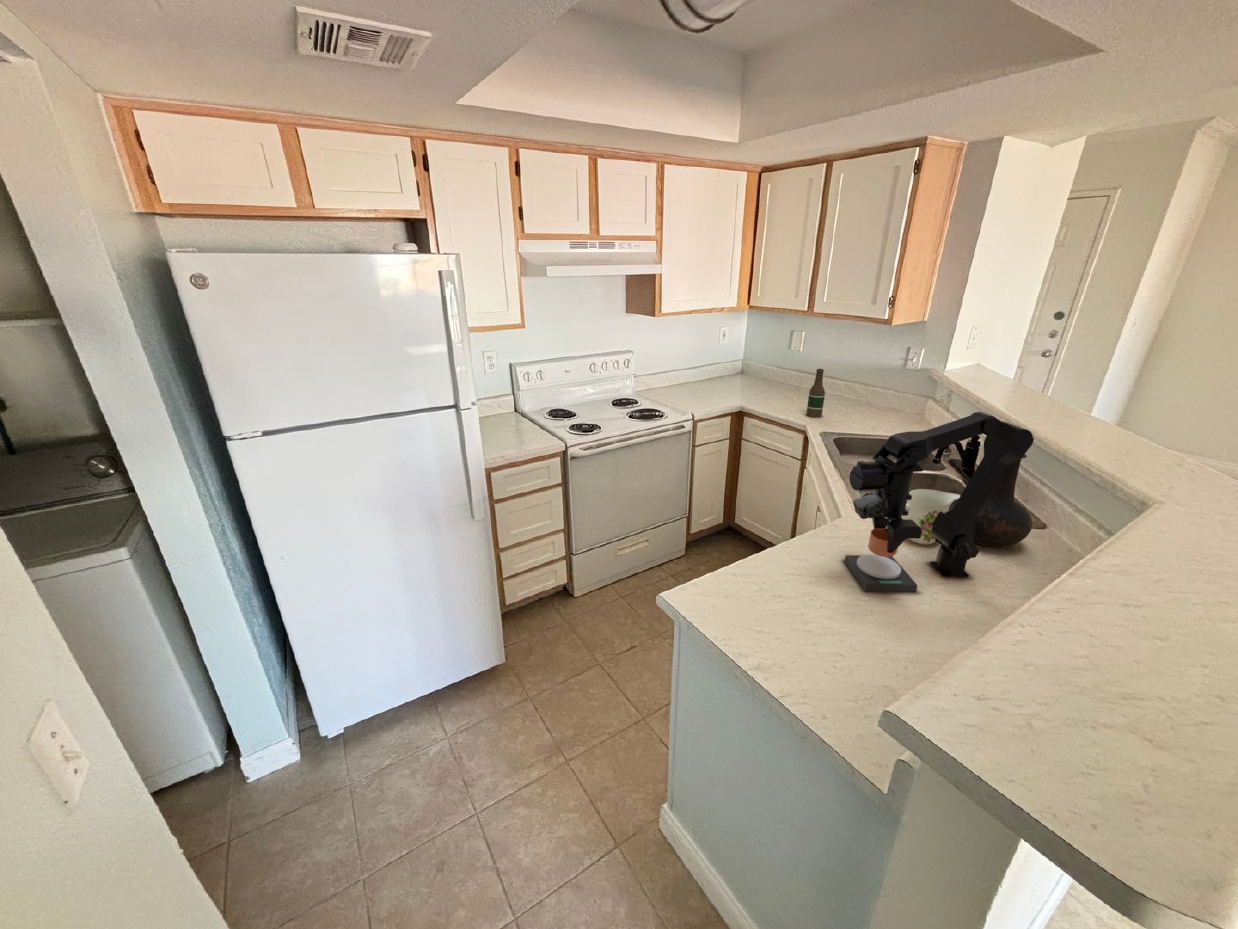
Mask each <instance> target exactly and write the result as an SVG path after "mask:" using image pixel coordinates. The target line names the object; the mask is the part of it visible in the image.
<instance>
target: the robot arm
mask: <svg viewBox="0 0 1238 929" xmlns="http://www.w3.org/2000/svg"><path fill="white" fill-rule="evenodd" d="M981 435H985V438H984V440H983V457H982V459H981V460H980V462H979V464H978V465H977V467H976V469H975V471H974V472H973V474H972V476H971V477H970V478H969V480H968V482H967V484H966V486H965V487H964V489H963V491H962V492H961V494H960V495H961V496H960V497H959V499H957V500H956V503H955V504H954V506H953V507H952V508H951V509H949V511H947V512H945V513H943V512H942V511H940V512H939V513H938V515H937V517H936V519H935V521H934V522H933V523H932V525H933V526H932V529H931V531H932V534H933V536H934V538H935V542H936V543H938V544H939V548H938V552H937V556H936V558H935V560H930V561H929V564H930V565H931V566H932V568H934V569H935V570H936V571H937V572H938V574H939V575H940V576H941V577H944V578H969V577H970V574H969V573H968V572H967V571H966V570H965V569H966V566H967V563H968V561H969V560H971V559H975V558H976V557H977V556H978V555H979V553H980V551H981V550H980V549H979V547H977V545H975V542H974V541H972V538H973V536H974V534H975V518H976V516H977V514H978V513H979V511H980V509H981V508H982V506H983V505H984V503H985V501H986V500H987V498H988V497H989V495H990V493H991V492H992V490H993V488H994V487H995V485H996V484H997V482H998V480H999V479H1000V477H1001V475H1002V474H1003V472H1004V471H1005V469H1006V467H1007V466H1008V465H1009V464H1011V463H1013V462H1015V461H1017V460H1019V459H1020V458H1022V457H1023V455H1024V454H1026V453H1027V452H1028V451H1029V449H1030V448H1031V447H1032V445H1033V443H1034V441H1035V438H1034V435H1033V433H1032V431H1031V430H1029V429H1027V428H1025V427H1022V426H1019V425H1016V424H1013V423H1011V422H1007V421H1001V419H998V418H997V417H996V416H994V415H991V414H988V413H986V412H983V411H975V412H973V413H971V414H970V415H968V416H965V417H961V418H958V419H955V420H953V421H949V422H947V423H944V424H941V425H938V426H935V427H932V428H929V429H926V430H921V431H916V430H915V431H914V430H913V431H904V432H897V433H894V434H892V435H890V436H888V439H887V441H886V442H885V443H884V444H883V446H881V447H880V448H879V450H878V451H876V453H875V454H874V455H873V456H872V460H871V461H865V460H860V461H859V460H857V462H856V465H855V466H854V465H853V467H852V468H851V470H850V471H849V475H848V476H849V478H848V479H849V484H850V486H851V488H852V489H853V490H854V491H875V492H866V493H864V494H863V495H862V496H860V497H858V498H855V499H853V500H852V504H853V508H854V512H855V513H856V515H858V516H859V518H860V519H862V520H866V519H872V527H873V529H876V528H883V529H884V530H885V531H886V532H887V533H888V543H887V552H888V553H893V552H894V551H895V550H896V549H897V548H898V549H899V546H901V545H902V544H903V543H904V542H905V541H907V539H908V538H914V539H920V538H921V535H922V531H923V530H922V529H921V528H920V527H919V526H918V525H917V524H916V523H915V522H914V521H913V520H908V519H903V518H902V517H903V516H908V511H907V510H906V509H905V507H906V504H907V503H908V502H907V501H909V500H911V499H912V495H910V494H909V492H910V488H911V485H912V484H911V483H912V478H913V474H914V473H918V472H919V473H920V472H923V471H924V468H923V467H922V466H921V465H920V464H919V462H922V461H923V460H925V459H927V458H928V457H929V456H930V455H931V454H932V453H933V452H934V451H937V450H939V449H942V448H945V447H948V446H951V445H954V444H956V443H960V442H963V441H966V440H968V439H973V438H974V437H977V436H981ZM889 457H891V458H892V459H893V460H892V459H890V458H889ZM1022 459H1023V458H1022ZM894 460H896V461H894ZM890 520H891V521H890ZM889 521H890V522H889Z"/></svg>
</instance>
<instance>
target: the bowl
mask: <svg viewBox="0 0 1238 929" xmlns="http://www.w3.org/2000/svg"><path fill="white" fill-rule="evenodd" d="M887 543H888V533H887V532H886V531H885V530H884V529H883V528H876V529H874V528H872V529H871V530H870V532H869V538H868V543H867V548H868V550H869V551H870V552H871V553H872V554H874V555H879V556H883V557H891V556H893V557H894V556H895V555H896V554H898V549H899V547H898V548H897V549H896V550H895V551H894V552H893V553H888V552H887Z"/></svg>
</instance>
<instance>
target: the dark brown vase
mask: <svg viewBox="0 0 1238 929" xmlns="http://www.w3.org/2000/svg"><path fill="white" fill-rule="evenodd" d="M1027 457H1028V456H1027V454H1026V453H1025V454H1024V455H1023V457H1022V458H1020V459H1019V460H1017V461H1015V462H1013V463H1011V464H1009V465H1008V466H1007V467H1006V469H1005V471H1004V472H1003V474H1002V475H1001V477H1000V479H999V480H998V482H997V484H996V485H995V487H994V488H993V490H992V492H991V493H990V495H989V497H988V498H987V500H986V501H985V503H984V505H983V506H982V508H981V509H980V511H979V513H978V514H977V516H976V518H975V534H974V536H973V538H972V542H973V543H976V544H979V545H981V546H984V547H985V546H986V547H989V548H1007V547H1011V546H1013V545H1016V544H1018V543H1020V542H1022V541H1023V540H1025V539H1026V538H1027V537H1028V536H1029V534H1030V533H1031V531H1032V528H1033V519H1032V516H1031V515H1030V513H1029V512H1028V510H1027V509H1026V508H1025V507H1024V506H1022V504H1020V503H1019V502H1017V501H1016V500H1015V492H1016V491H1015V490H1016V484H1017V479H1018V474H1019V470H1020V467H1021V462H1022V459H1026V458H1027Z"/></svg>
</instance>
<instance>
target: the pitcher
mask: <svg viewBox="0 0 1238 929" xmlns="http://www.w3.org/2000/svg"><path fill="white" fill-rule="evenodd" d="M909 494H910V495H912V499H911V500H908V502H906V507H905V509H906V510H907V511H908V516H902V518H903V519H908V520H913V521H914V522H915V523H916V524H917V525H918V526H919V527H920V528H921V529H922V530H923V531H922V535H921V538H920V539H914V538H907V539H908V540H910V541H911V542H913V543H916V544H919V545H932V544H933V543H935V542H936V541H935V538H934V536H933V534H932V531H931V529H932V526H933V525H932V523H933V522H934V521H935V519H936V517H937V515H938V513H939V512H940V511H942V512H943V513H945V512H947V511H949V510H950V509H949V508H950V506H951V505H952V503H954V502H955V501H958V499H959V497H960V496H961V494H959V493H955V492H945V491H940V490H936V489H926V488H918V489H916V488H915V489H912V490H909ZM890 521H891V520H890ZM890 521H889V522H890Z"/></svg>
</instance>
